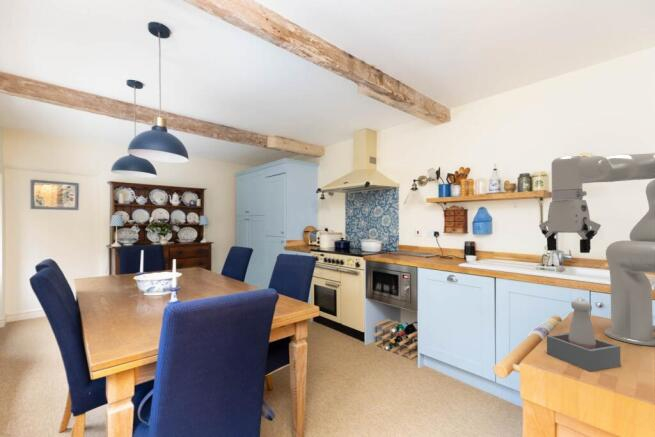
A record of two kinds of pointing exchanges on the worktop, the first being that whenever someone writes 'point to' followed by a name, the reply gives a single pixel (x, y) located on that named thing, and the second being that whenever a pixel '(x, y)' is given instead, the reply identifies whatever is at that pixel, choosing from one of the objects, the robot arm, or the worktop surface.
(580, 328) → the grey bowling pin
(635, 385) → the worktop surface
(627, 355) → the worktop surface
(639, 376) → the worktop surface
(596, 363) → the press housing
